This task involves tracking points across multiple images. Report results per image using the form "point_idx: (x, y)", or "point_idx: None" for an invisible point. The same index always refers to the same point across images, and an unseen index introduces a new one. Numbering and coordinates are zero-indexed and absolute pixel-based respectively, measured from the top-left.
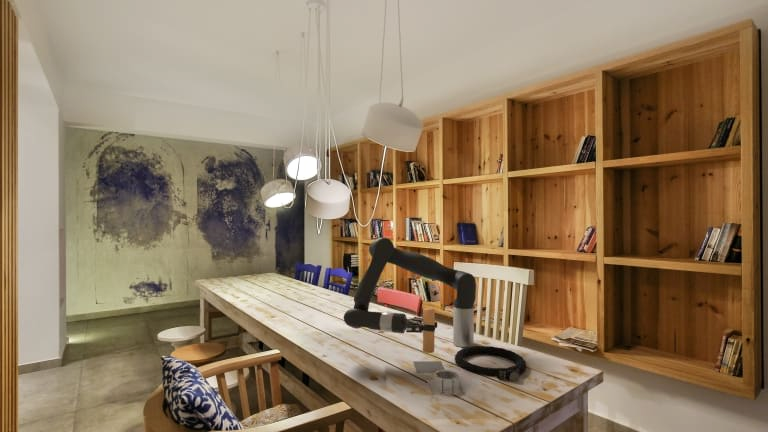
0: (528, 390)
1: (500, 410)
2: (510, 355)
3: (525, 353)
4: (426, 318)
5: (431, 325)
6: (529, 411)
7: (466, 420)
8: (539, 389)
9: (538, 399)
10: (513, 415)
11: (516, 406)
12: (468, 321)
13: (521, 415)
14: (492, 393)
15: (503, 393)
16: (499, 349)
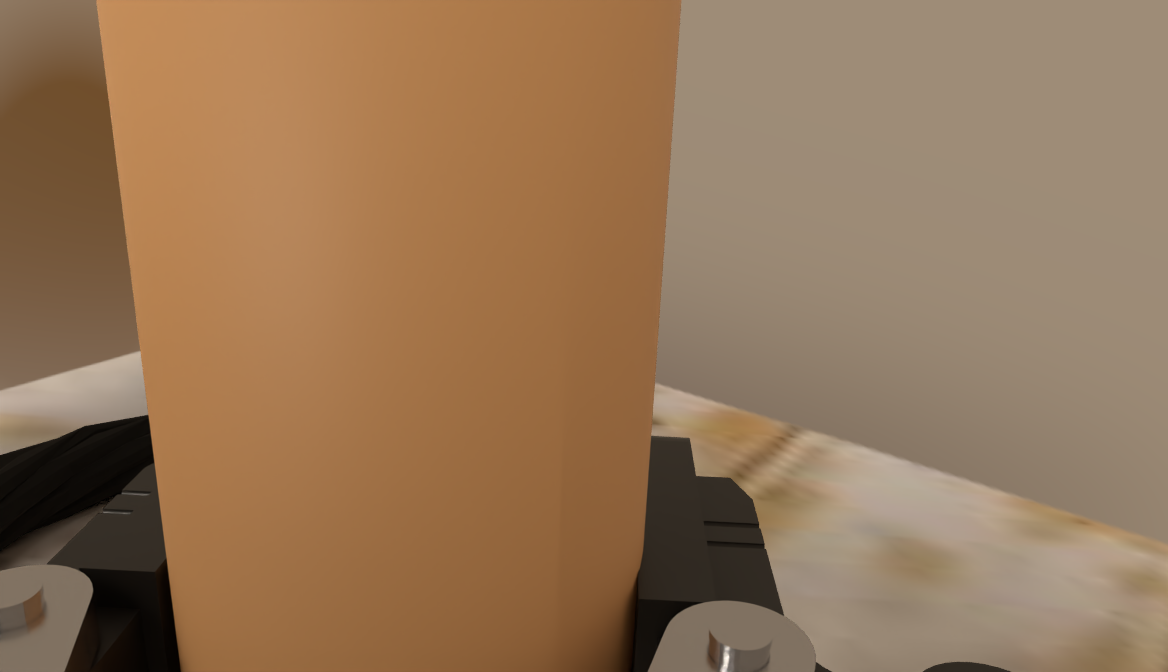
0: (698, 468)
1: (1108, 591)
2: (149, 450)
3: (12, 422)
4: (651, 335)
5: (686, 470)
6: (987, 490)
7: None
8: (658, 435)
9: (800, 451)
10: (1109, 545)
11: (973, 526)
12: None
13: (1071, 518)
14: (869, 615)
15: (824, 563)
16: (8, 477)
